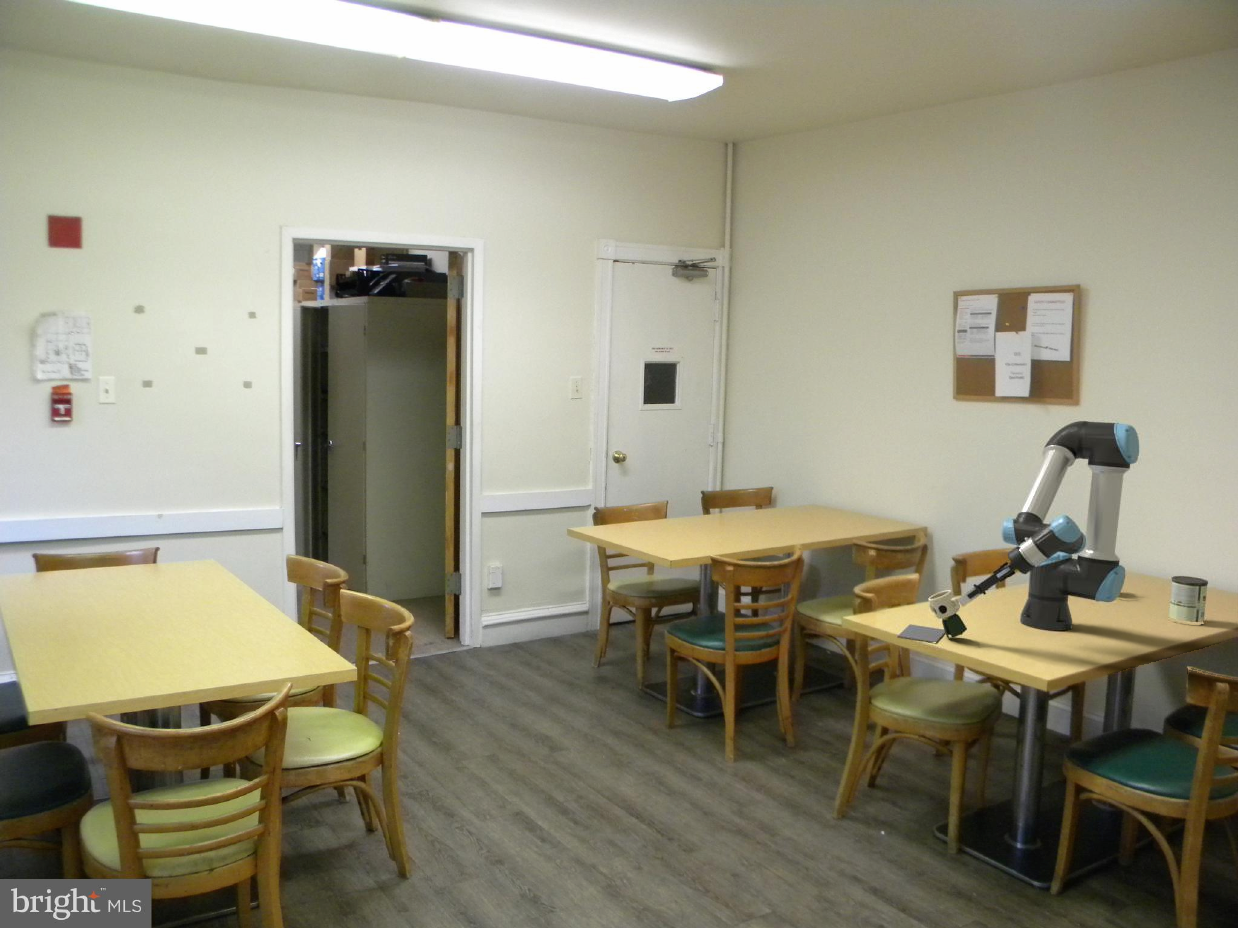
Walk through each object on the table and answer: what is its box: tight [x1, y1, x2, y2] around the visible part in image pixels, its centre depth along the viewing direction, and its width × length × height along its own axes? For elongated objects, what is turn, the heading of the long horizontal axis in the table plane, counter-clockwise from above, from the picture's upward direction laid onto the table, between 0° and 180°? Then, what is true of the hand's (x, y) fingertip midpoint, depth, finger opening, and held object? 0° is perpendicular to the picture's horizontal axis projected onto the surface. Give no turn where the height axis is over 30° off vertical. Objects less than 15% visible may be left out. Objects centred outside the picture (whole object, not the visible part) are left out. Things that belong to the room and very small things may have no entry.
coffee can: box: [1168, 575, 1209, 622], centre depth 328 cm, size 10×10×14 cm
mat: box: [897, 623, 946, 643], centre depth 301 cm, size 11×16×1 cm
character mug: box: [927, 589, 968, 639], centre depth 297 cm, size 11×7×13 cm, turn 29°
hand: (960, 602), depth 295 cm, fingers closed
